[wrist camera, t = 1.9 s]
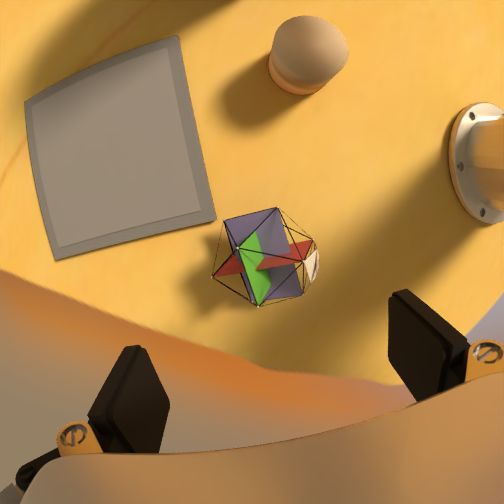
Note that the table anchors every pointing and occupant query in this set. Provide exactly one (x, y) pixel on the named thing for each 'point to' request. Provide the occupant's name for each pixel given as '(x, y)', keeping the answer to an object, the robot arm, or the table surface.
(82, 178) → the felt mat
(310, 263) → the geometric puzzle
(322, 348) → the table surface
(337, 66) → the tan rounded cylinder
